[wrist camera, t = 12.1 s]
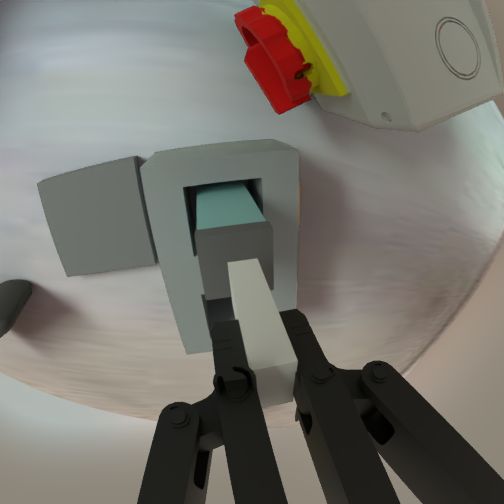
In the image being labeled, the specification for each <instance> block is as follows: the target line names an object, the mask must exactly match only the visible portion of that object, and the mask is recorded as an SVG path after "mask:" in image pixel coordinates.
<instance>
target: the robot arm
mask: <svg viewBox="0 0 504 504" xmlns="http://www.w3.org/2000/svg"><path fill="white" fill-rule="evenodd" d="M227 263H228V271H229V280H230V288H231V296H232V304H233V309H234V314H235V319H236V320H230V321H223V322H216V323H215V324H214V326H213V328H212V330H211V338H212V348H213V356H214V365H215V373H216V374H215V375H214V379H213V385H214V388H215V389H214V391H213V392H212V394H211V395H209V396H208V397H207V398H205V399H203V400H201V401H199V402H197V403H194V404H192V405H191V404H188V403H185V402H174V403H172V404H169V405H167V406H166V407H165V408H164V409H163V410H162V412H161V414H160V416H159V419H158V423H157V426H156V430H155V434H154V437H153V441H152V445H151V449H150V453H149V456H148V461H147V464H146V468H145V472H144V476H143V481H142V485H141V489H140V493H139V497H138V502H137V504H205V501H206V494H207V487H208V479H209V473H210V466H211V459H212V458H211V457H212V451H213V449H215V448H217V447H220V446H222V445H224V446H225V451H226V457H227V463H228V469H229V474H230V480H231V485H232V490H233V495H234V499H235V504H288V502H287V499H286V496H285V492H284V488H283V485H282V482H281V478H280V475H279V471H278V467H277V464H276V460H275V456H274V453H273V449H272V445H271V441H270V438H269V434H268V430H267V426H266V423H265V419H264V415H263V411H262V408H264V407H269V406H274V405H279V404H283V403H288V402H292V401H293V397H294V398H295V401H296V404H297V408H296V414H295V422H296V421H298V419H299V422H300V425H301V428H302V431H303V434H304V437H305V439H306V442H307V445H308V448H309V451H310V454H311V457H312V460H313V463H314V466H315V469H316V472H317V475H318V478H319V481H320V484H321V486H322V489H323V492H324V495H325V498H326V501H327V504H400V502H399V499H398V497H397V495H396V492H395V490H394V488H393V486H392V483H391V481H390V479H389V477H388V475H387V472H386V470H385V468H384V466H383V463H382V461H381V459H380V457H379V455H378V453H379V454H380V455H381V456H382V457H383V459H384V460H385V461H386V462H387V463H388V465H389V466H390V467H391V468H392V469H393V470H394V472H395V473H396V474H397V475H398V476H399V477H400V479H401V480H402V481H403V482H404V483H405V484H406V485H407V486H408V488H409V489H410V490H411V491H412V492H413V493H414V495H415V496H416V497H417V498H418V499H419V500H420V501H421V502H422V503H423V504H504V480H503V479H502V478H501V477H500V476H499V475H498V474H497V472H495V470H494V469H493V468H492V467H491V466H490V465H489V464H488V463H487V462H486V461H485V460H484V459H483V458H482V457H481V456H480V455H479V454H478V453H477V451H476V450H475V449H474V448H473V447H472V446H471V445H470V444H469V443H468V442H467V441H466V440H465V439H464V438H463V437H462V436H461V435H460V434H459V433H458V432H457V431H456V430H455V429H454V428H453V427H452V426H451V425H450V424H449V423H448V422H447V421H446V420H445V419H444V418H443V417H442V416H441V415H440V414H439V413H438V412H437V411H436V410H435V409H434V408H433V407H432V406H431V405H430V404H429V403H428V402H427V401H426V400H425V399H424V398H423V397H422V396H421V395H420V394H419V393H418V392H417V391H416V390H415V389H414V388H413V387H412V386H411V385H410V384H409V383H408V382H407V381H406V380H405V379H404V378H403V377H402V376H401V375H400V374H399V373H398V372H397V371H396V370H395V369H394V368H393V367H392V366H391V365H389V364H388V363H386V362H383V361H372V362H369V363H367V364H366V365H365V366H364V367H363V370H345V369H340V368H336V367H335V366H334V365H332V364H331V363H329V362H328V361H327V359H326V357H325V355H324V353H323V351H322V349H321V347H320V345H319V343H318V341H317V339H316V337H315V335H314V333H313V331H312V329H311V327H310V326H309V323H308V321H307V319H306V317H305V315H304V314H303V313H301V312H300V311H299V310H298V309H291V310H286V311H280V312H278V309H277V307H276V304H275V302H274V299H273V297H272V294H271V292H270V289H269V287H268V284H267V282H266V279H265V276H264V274H263V271H262V269H261V266H260V264H259V261H258V259H257V258H256V259H249V260H242V261H234V262H227Z"/></svg>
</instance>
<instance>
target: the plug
mask: <svg viewBox="0 0 504 504" xmlns="http://www.w3.org/2000/svg"><path fill="white" fill-rule="evenodd" d="M195 243H196V249H197V255H198V261H199V266H200V272H201V277H202V283H203V288H204V293H205V299H206V300H212V299H219V298H226V297H232V296H231V288H230V280H229V271H228V263H227V262H234V261H242V260H249V259H256V258H257V259H258V261H259V264H260V266H261V269H262V271H263V274H264V276H265V279H266V282H267V284H268V287H269V289H270V291H271V290H274V255H273V227H272V225H271V224H270V222H269V221H266V220H265V218H264V217H263V215H262V213H261V212H260V210H259V208H258V207H257V205H256V203H255V202H254V200H253V198H252V197H251V195H250V193H249V192H248V190H247V189H246V187H245V185H244V184H243V182H242V180H235V181H226V182H217V183H209V184H202V185H197V230H195Z"/></svg>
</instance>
